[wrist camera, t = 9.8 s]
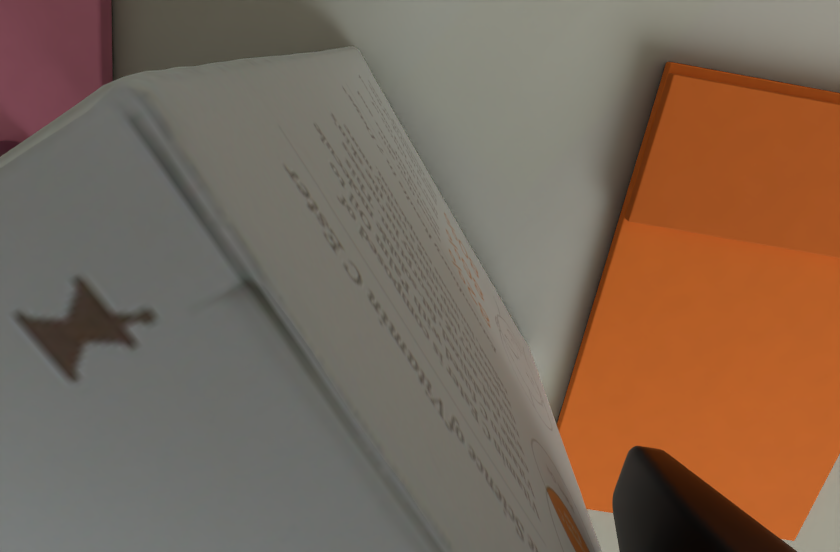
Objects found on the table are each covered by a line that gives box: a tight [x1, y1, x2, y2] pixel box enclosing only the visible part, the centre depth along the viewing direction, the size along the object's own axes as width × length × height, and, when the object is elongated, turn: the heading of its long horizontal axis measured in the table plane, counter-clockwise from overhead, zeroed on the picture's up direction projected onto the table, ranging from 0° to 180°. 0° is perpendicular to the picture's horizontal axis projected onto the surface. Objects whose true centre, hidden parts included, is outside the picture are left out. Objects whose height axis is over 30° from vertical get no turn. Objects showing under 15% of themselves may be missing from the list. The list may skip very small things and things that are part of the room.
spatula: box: [0, 0, 113, 157], centre depth 13 cm, size 17×4×2 cm, turn 170°
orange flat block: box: [557, 62, 840, 541], centre depth 14 cm, size 7×11×1 cm, turn 170°
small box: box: [0, 46, 602, 552], centre depth 9 cm, size 8×6×10 cm
